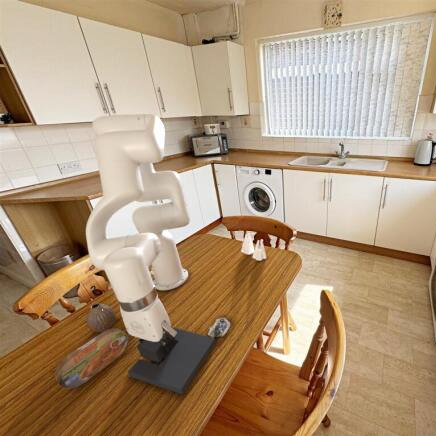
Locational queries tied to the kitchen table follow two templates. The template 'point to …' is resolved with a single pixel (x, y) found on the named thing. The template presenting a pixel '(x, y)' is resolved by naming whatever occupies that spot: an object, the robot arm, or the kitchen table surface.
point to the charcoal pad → (176, 362)
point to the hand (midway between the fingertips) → (158, 347)
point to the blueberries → (219, 328)
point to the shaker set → (249, 248)
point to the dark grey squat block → (152, 349)
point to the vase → (100, 317)
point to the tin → (91, 358)
